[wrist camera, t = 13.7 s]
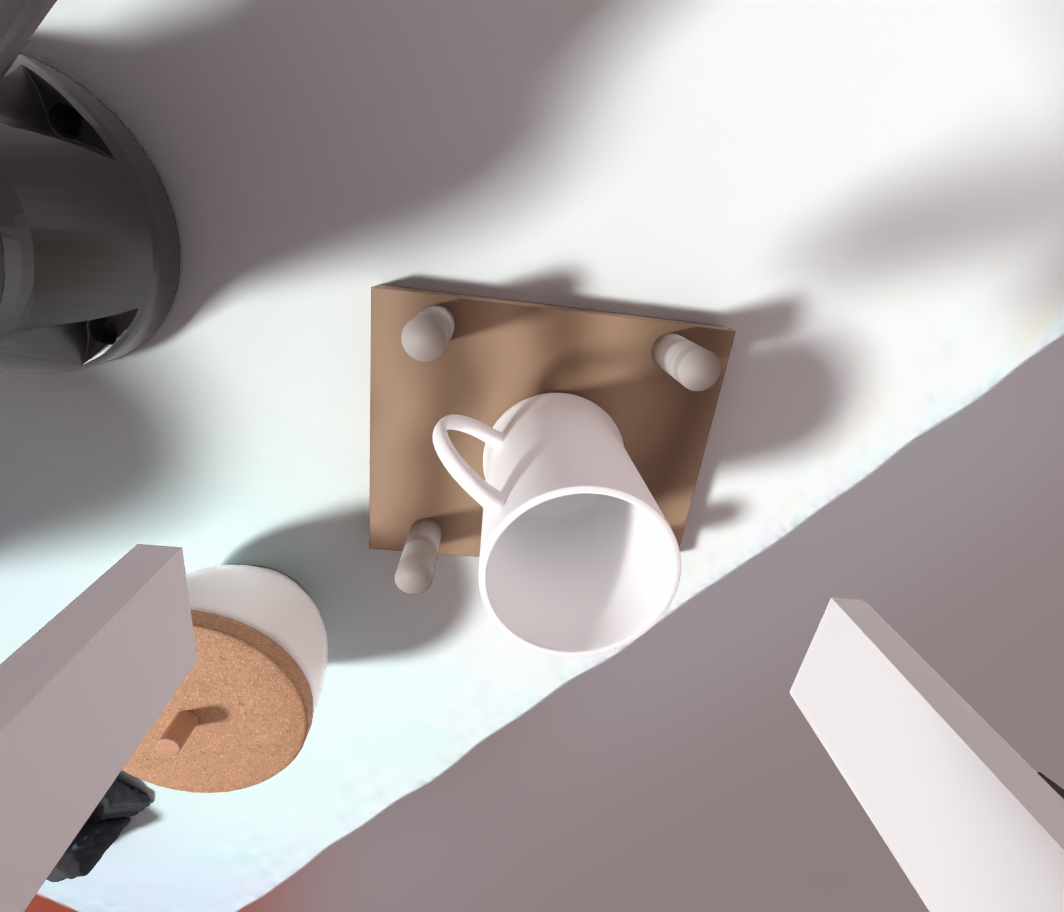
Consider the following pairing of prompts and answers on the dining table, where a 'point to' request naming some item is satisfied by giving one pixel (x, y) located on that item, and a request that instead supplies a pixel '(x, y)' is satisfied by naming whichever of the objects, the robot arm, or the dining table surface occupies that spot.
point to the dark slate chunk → (99, 831)
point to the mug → (564, 527)
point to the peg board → (512, 376)
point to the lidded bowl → (239, 684)
